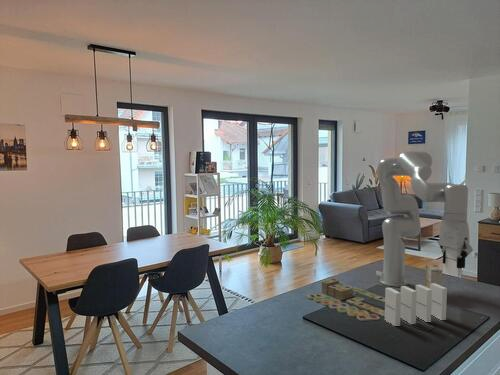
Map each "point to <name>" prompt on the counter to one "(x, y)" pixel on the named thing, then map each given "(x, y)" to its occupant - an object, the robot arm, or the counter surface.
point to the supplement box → (433, 275)
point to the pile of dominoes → (344, 292)
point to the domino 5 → (452, 263)
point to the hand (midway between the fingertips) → (453, 265)
